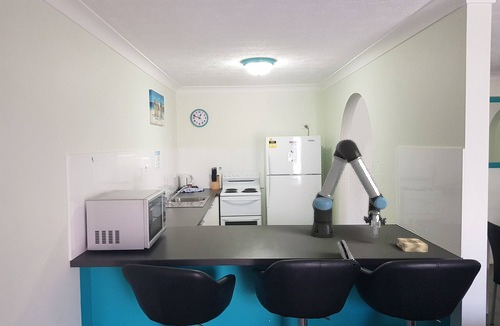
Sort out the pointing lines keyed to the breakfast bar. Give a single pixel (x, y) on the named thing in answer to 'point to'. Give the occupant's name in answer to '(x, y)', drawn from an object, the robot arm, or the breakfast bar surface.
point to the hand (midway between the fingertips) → (375, 224)
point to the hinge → (344, 250)
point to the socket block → (412, 245)
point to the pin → (375, 224)
